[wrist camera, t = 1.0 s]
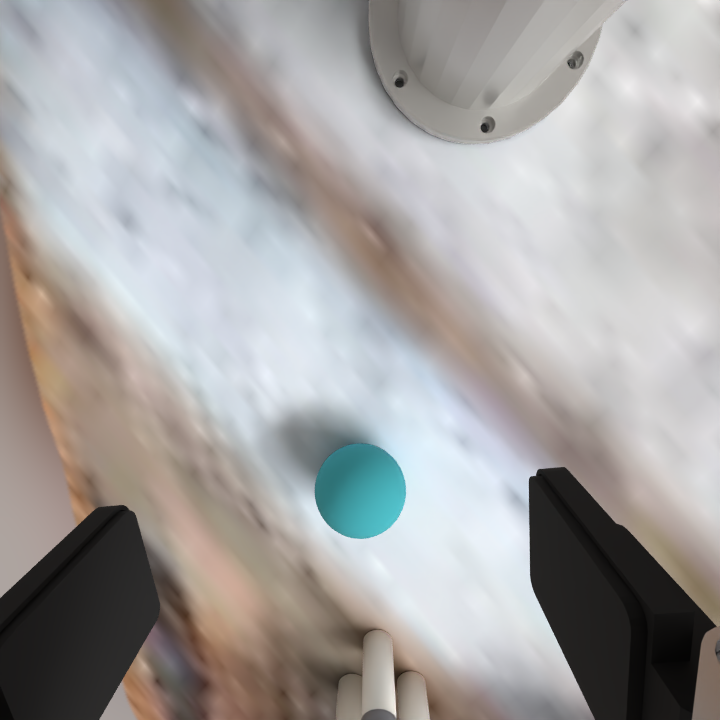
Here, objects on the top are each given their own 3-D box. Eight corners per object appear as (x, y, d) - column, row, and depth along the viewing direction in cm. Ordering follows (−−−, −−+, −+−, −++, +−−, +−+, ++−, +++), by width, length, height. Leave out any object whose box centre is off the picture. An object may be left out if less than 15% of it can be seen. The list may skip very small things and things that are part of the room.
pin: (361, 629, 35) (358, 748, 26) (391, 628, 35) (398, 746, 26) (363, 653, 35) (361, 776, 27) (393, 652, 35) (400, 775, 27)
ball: (316, 431, 30) (303, 475, 24) (399, 426, 30) (406, 468, 24) (325, 505, 32) (314, 562, 26) (404, 500, 32) (412, 557, 26)
